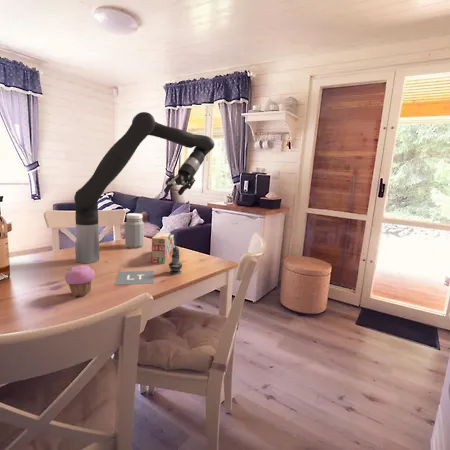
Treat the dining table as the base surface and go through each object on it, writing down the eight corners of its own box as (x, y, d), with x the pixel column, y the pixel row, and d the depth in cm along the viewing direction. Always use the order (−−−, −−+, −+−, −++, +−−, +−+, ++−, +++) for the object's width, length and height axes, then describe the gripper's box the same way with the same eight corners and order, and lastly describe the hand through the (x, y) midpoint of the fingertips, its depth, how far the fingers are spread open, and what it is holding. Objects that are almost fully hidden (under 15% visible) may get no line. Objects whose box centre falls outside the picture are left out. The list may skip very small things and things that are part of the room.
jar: (122, 247, 156) (121, 214, 153) (130, 243, 166) (130, 212, 163) (138, 249, 155) (138, 216, 152) (146, 245, 164) (146, 213, 161)
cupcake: (98, 288, 103) (97, 262, 101) (91, 299, 95) (90, 270, 93) (71, 289, 101) (69, 262, 100) (61, 300, 93) (60, 270, 91)
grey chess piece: (184, 271, 125) (185, 244, 123) (178, 275, 120) (178, 247, 117) (172, 269, 127) (173, 242, 125) (165, 273, 122) (166, 245, 119)
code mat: (114, 285, 107) (114, 284, 107) (118, 272, 120) (118, 271, 120) (153, 283, 111) (153, 283, 110) (153, 271, 124) (153, 270, 124)
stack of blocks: (162, 251, 155) (162, 228, 153) (174, 251, 155) (174, 229, 152) (151, 263, 134) (151, 237, 132) (164, 264, 134) (165, 238, 131)
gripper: (174, 162, 140) (156, 186, 132) (197, 163, 132) (180, 188, 125) (181, 173, 145) (164, 197, 138) (204, 175, 138) (187, 200, 130)
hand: (172, 193), depth 131 cm, fingers open, 8 cm apart
